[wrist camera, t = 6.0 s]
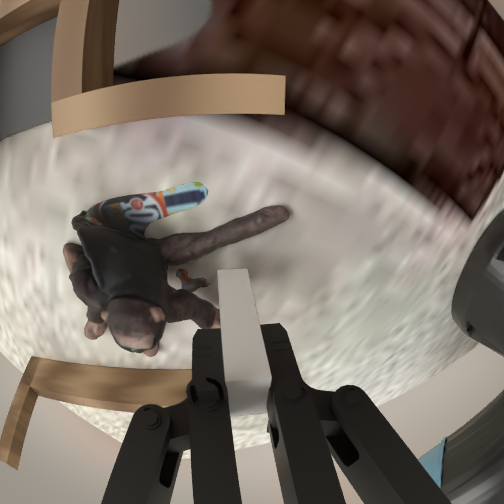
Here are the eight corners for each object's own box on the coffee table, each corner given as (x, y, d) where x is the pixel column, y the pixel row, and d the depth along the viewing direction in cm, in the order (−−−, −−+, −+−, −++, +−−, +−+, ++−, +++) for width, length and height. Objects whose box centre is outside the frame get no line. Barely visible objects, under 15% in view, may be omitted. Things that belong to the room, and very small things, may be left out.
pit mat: (88, 6, 7) (86, 5, 7) (82, 112, 10) (80, 112, 10) (-5, 51, 6) (-8, 51, 6) (-7, 142, 9) (-10, 143, 9)
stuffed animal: (45, 313, 15) (-3, 262, 6) (103, 209, 20) (136, 97, 11) (183, 381, 19) (283, 399, 10) (219, 275, 24) (316, 218, 15)
